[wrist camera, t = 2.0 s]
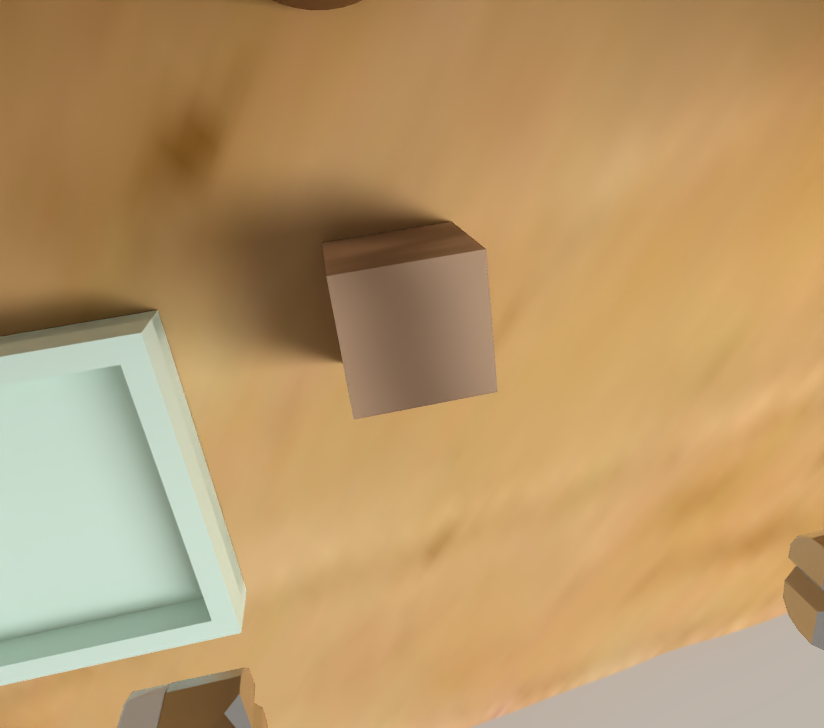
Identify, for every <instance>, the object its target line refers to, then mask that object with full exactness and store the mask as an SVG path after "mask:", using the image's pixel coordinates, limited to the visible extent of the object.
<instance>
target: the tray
mask: <svg viewBox="0 0 824 728" xmlns="http://www.w3.org/2000/svg"><path fill="white" fill-rule="evenodd" d="M245 599H246V587H245V584H244V581H243V578H242V575H241V572H240V569H239V565H238V562H237V559H236V556H235V553H234V550H233V546H232V543H231V540H230V537H229V534H228V531H227V527H226V524H225V521H224V518H223V515H222V512H221V508H220V505H219V502H218V499H217V496H216V493H215V490H214V486H213V483H212V480H211V477H210V474H209V471H208V467H207V464H206V461H205V458H204V455H203V452H202V448H201V445H200V442H199V439H198V436H197V433H196V429H195V426H194V423H193V420H192V417H191V414H190V411H189V407H188V404H187V401H186V398H185V395H184V392H183V388H182V385H181V382H180V379H179V376H178V373H177V369H176V366H175V363H174V360H173V357H172V354H171V350H170V347H169V344H168V341H167V338H166V335H165V332H164V328H163V325H162V322H161V319H160V316H159V313H158V310H156V311H150V312H144V313H138V314H132V315H126V316H120V317H114V318H108V319H102V320H96V321H90V322H84V323H78V324H72V325H66V326H61V327H55V328H49V329H43V330H37V331H31V332H25V333H19V334H13V335H7V336H1V337H0V686H2V685H6V684H11V683H15V682H20V681H25V680H29V679H34V678H38V677H43V676H47V675H52V674H56V673H61V672H65V671H70V670H75V669H79V668H84V667H88V666H93V665H97V664H102V663H106V662H111V661H115V660H120V659H124V658H129V657H134V656H138V655H143V654H147V653H152V652H156V651H161V650H165V649H170V648H174V647H179V646H184V645H188V644H193V643H197V642H202V641H206V640H211V639H215V638H220V637H224V636H229V635H234V634H238V633H241V631H242V623H243V615H244V607H245Z"/></svg>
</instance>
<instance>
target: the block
mask: <svg viewBox="0 0 824 728" xmlns="http://www.w3.org/2000/svg"><path fill="white" fill-rule="evenodd" d="M322 246H323V254H324V263H325V271H326V278H327V283H328V288H329V293H330V299H331V304H332V309H333V314H334V319H335V324H336V330H337V335H338V340H339V345H340V350H341V355H342V361H343V366H344V371H345V376H346V381H347V386H348V392H349V397H350V402H351V407H352V412H353V417H354V419H359V418H364V417H370V416H375V415H380V414H385V413H390V412H396V411H401V410H406V409H411V408H416V407H421V406H427V405H432V404H437V403H442V402H447V401H452V400H458V399H463V398H468V397H473V396H478V395H484V394H489V393H494V392H498V391H497V378H496V366H495V353H494V341H493V329H492V316H491V304H490V291H489V279H488V266H487V254H486V249H485V248H484V247H483V246H482V245H480V244H479V243H478V242H477V241H475V240H474V239H473V238H472V237H470V236H469V235H468V234H466V233H465V232H464V231H463V230H461V229H460V228H459V227H458V226H456V225H455V224H454V223H453V222H446V223H439V224H433V225H427V226H421V227H415V228H409V229H403V230H397V231H391V232H385V233H378V234H372V235H366V236H360V237H354V238H348V239H342V240H336V241H330V242H324V243H322Z"/></svg>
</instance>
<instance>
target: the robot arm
mask: <svg viewBox="0 0 824 728" xmlns="http://www.w3.org/2000/svg"><path fill="white" fill-rule="evenodd" d="M789 559H790V560H791V561H792V562H793V563H794V565H795V566H796V567H795V568H794V569H793V570H792V572H791V573H790V574H789V576H788V577H787V578H786V579H785V583H784V593H783V599H784V602H785V605H786V608H787V611H788V614H789V616H790V618H791V620H792V621H793V623H794V624H795V626H796V628H797V629H798V630H799V632H800V633H801V634H802V635H803V636H804V637H805V638H806V639H807V640H808V641H809V642H810V643H811V644H812V645H814V646H816V647H818V648H820V649H823V650H824V529H823V530H819V531H815V532H811V533H807V534H803V535H799V536H797V537H796V538H795V539H794V541H793V542H792V543H791V545H790V551H789ZM254 695H255V683H254V681H253V678H252V675H251V673H250V670H249V668H240V669H235V670H230V671H226V672H221V673H216V674H211V675H206V676H202V677H197V678H192V679H187V680H183V681H178V682H173V683H171V684H166V685H162V686H157V687H152V688H148V689H143V690H138V691H134V692H132V693H131V695H130V696H129V698H128V699H127V701H126V702H125V704H124V706H123V710H122V713H121V716H120V720H119V723H118V726H117V728H268V725H267V720H266V717H265V713H264V710H263V708H262V707H261V706H259V705H257V704H255V703H254Z"/></svg>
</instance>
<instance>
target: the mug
mask: <svg viewBox="0 0 824 728" xmlns="http://www.w3.org/2000/svg"><path fill="white" fill-rule="evenodd" d="M274 1H276V2H278V3H281V4H284V5H288V6H291V7H295V8H301V9H308V10H329V9H335V8H342V7H345V6H348V5H351V4H354V3H357V2H359V1H361V0H274Z"/></svg>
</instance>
